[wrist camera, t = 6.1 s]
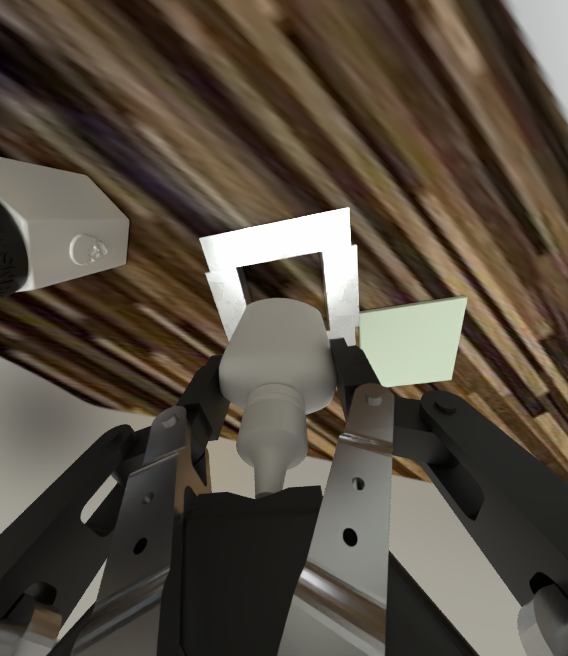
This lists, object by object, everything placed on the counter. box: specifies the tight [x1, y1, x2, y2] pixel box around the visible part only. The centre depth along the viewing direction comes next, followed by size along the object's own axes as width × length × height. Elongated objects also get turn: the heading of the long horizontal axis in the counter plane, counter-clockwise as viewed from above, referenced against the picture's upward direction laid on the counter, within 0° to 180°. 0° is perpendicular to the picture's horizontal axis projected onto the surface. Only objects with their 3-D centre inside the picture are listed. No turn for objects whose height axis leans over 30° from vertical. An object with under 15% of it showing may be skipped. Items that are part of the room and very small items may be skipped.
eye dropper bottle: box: [219, 298, 337, 499], centre depth 11 cm, size 4×6×12 cm
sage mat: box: [358, 296, 467, 387], centre depth 26 cm, size 11×11×1 cm
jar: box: [0, 157, 129, 298], centre depth 16 cm, size 9×8×12 cm
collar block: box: [199, 207, 360, 346], centre depth 23 cm, size 14×14×2 cm
